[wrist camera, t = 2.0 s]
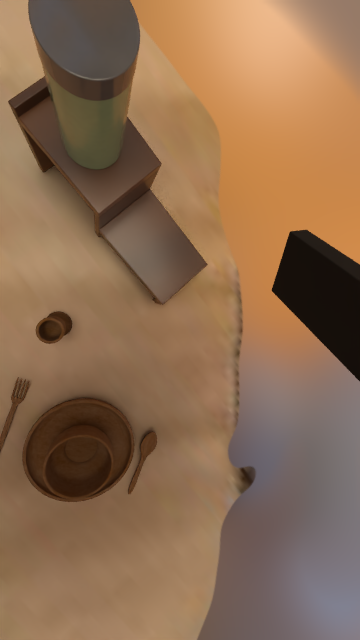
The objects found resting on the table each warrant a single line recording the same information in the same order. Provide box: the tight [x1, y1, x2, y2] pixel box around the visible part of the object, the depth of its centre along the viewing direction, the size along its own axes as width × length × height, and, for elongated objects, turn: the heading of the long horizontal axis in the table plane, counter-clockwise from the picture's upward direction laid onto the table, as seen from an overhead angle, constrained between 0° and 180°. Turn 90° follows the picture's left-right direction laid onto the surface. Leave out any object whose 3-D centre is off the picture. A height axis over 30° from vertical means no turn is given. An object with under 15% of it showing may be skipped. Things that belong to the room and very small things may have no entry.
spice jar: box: [28, 0, 140, 169], centre depth 17 cm, size 5×5×10 cm
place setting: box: [0, 312, 157, 502], centre depth 31 cm, size 18×20×6 cm
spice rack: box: [8, 76, 207, 305], centre depth 28 cm, size 19×7×11 cm, turn 40°
